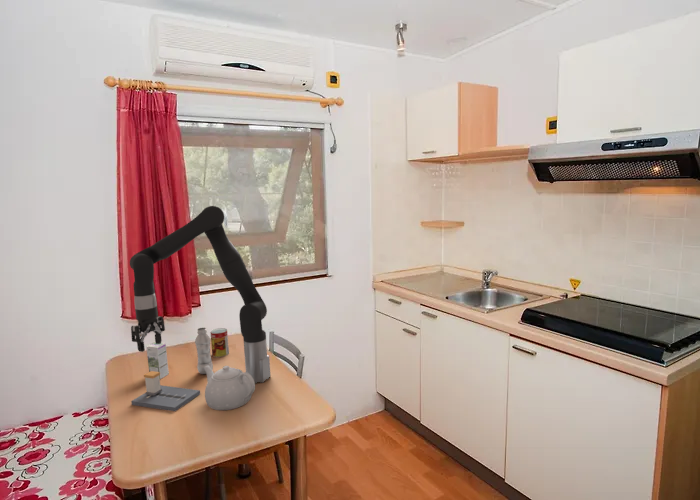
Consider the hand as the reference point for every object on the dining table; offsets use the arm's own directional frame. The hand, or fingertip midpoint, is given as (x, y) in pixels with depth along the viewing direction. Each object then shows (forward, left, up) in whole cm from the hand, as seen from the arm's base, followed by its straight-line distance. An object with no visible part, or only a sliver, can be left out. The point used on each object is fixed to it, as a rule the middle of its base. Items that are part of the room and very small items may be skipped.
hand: (150, 347), depth 163 cm
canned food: (+2, -46, -20) cm, 50 cm away
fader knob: (0, 0, -18) cm, 18 cm away
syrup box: (+13, -17, -20) cm, 30 cm away
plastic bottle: (-5, -25, -20) cm, 32 cm away
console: (-6, 0, -20) cm, 21 cm away
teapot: (-31, -5, -21) cm, 37 cm away
